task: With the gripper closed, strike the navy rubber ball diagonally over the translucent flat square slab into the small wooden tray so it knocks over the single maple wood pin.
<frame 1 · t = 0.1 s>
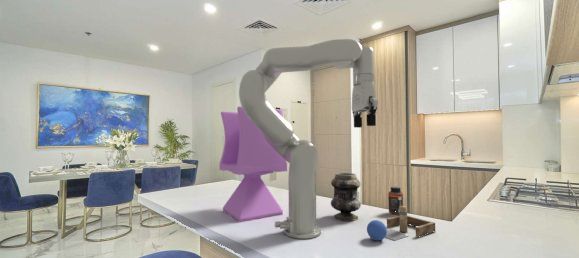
hand: (364, 126, 95), 37 cm above the counter, tool pointing down, fingers open, 9 cm apart
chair: (252, 213, 113), on the counter
apothecary jar: (345, 218, 105), on the counter
wooden tray: (403, 231, 89), on the counter
translucent flat square slab: (392, 234, 86), on the counter
ball: (376, 230, 81), on the counter
pin: (403, 219, 89), in the wooden tray
supplement bottle: (396, 213, 112), on the counter
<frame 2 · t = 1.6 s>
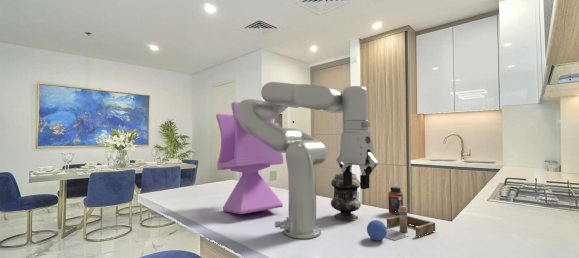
hand: (356, 186, 77), 18 cm above the counter, tool pointing down, fingers open, 6 cm apart
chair: (252, 209, 113), point 1 cm above the counter, touching arm
everything else where it was.
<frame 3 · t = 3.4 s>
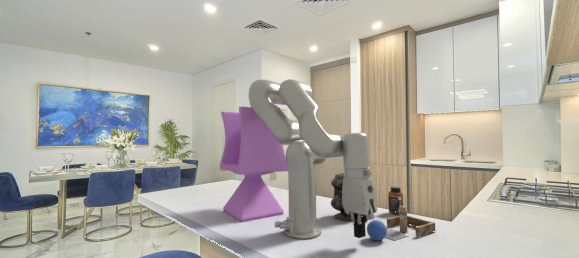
hand: (359, 236, 76), 3 cm above the counter, tool pointing down, fingers closed
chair: (252, 213, 113), on the counter
everything else where it was.
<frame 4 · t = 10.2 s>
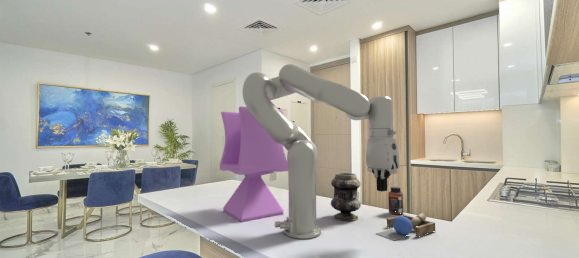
hand: (382, 190, 84), 15 cm above the counter, tool pointing down, fingers closed
ball: (402, 225, 86), on the counter
pin: (414, 222, 90), in the wooden tray, tilted 67°
everything else where it was.
at the end: pin tilted 67°; pin never touched the robot; ball moved 11.2 cm from its start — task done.
